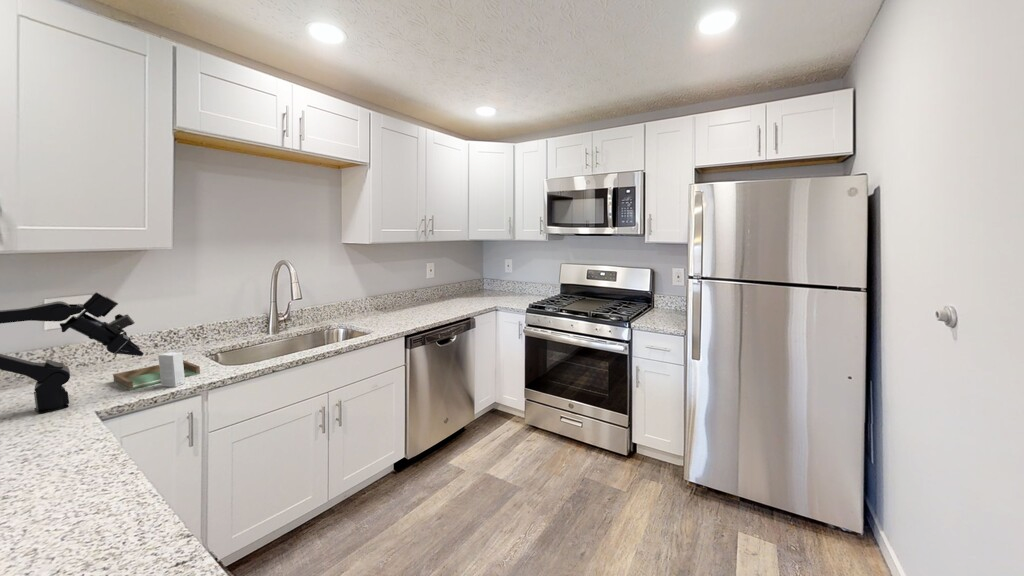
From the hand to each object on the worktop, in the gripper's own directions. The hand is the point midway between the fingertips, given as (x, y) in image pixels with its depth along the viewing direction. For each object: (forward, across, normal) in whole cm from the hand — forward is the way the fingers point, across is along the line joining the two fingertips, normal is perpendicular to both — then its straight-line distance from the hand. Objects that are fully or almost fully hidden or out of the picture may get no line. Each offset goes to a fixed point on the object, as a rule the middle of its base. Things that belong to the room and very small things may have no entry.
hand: (141, 352), depth 148 cm
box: (+14, +13, +7) cm, 20 cm away
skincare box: (+16, 0, +5) cm, 16 cm away
